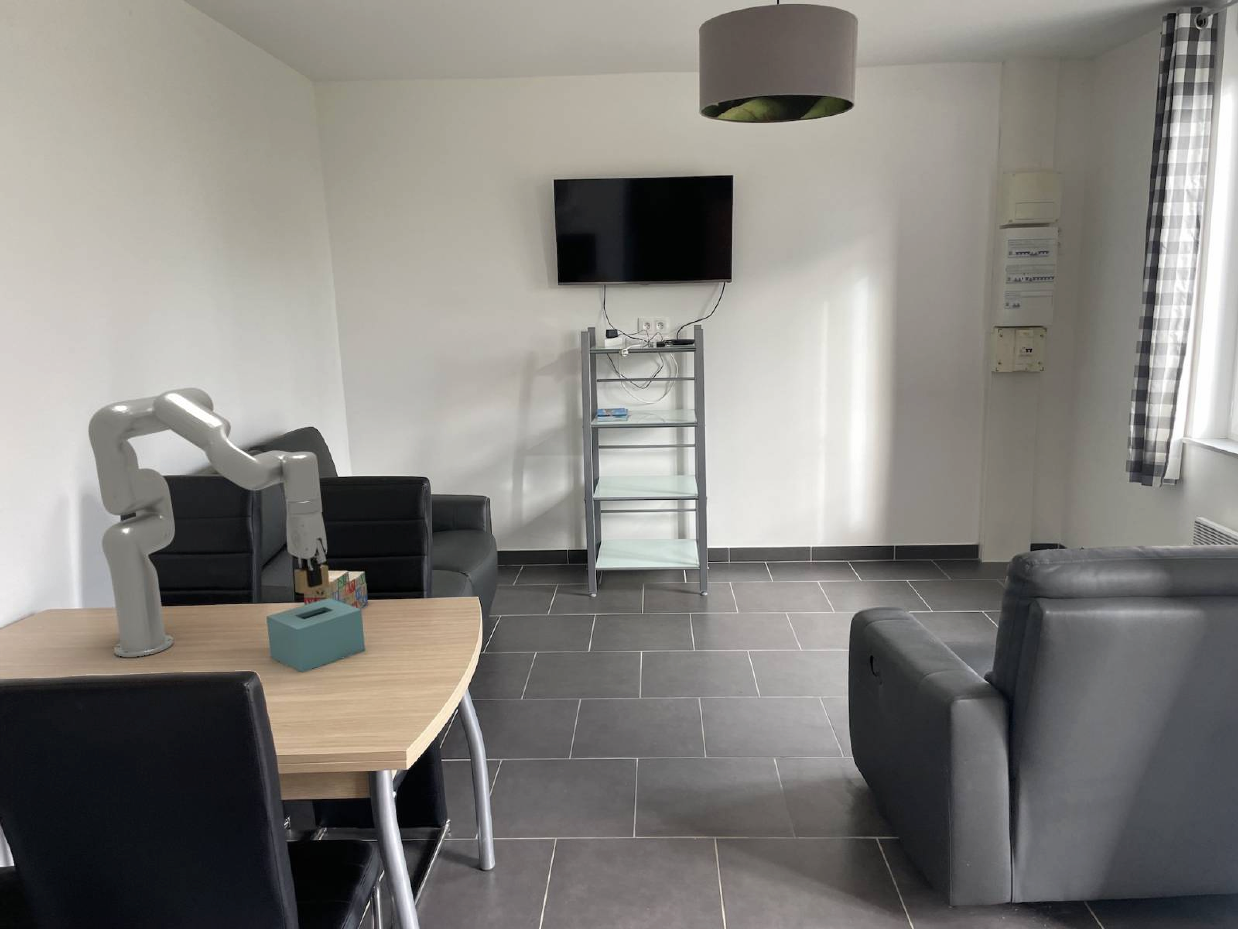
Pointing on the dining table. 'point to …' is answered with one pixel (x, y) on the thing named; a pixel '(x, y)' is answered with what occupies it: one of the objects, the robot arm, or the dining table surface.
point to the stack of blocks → (342, 589)
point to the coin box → (315, 634)
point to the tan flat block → (302, 580)
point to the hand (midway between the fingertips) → (312, 584)
